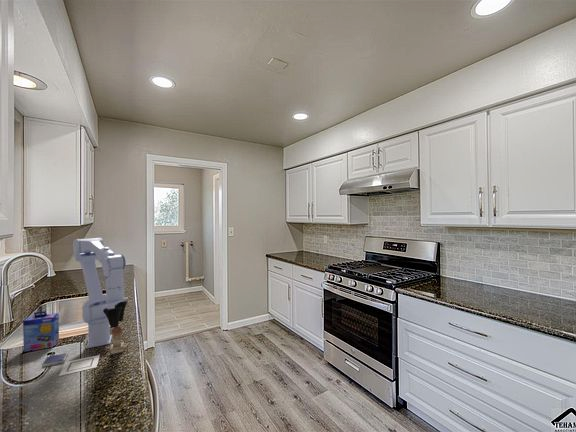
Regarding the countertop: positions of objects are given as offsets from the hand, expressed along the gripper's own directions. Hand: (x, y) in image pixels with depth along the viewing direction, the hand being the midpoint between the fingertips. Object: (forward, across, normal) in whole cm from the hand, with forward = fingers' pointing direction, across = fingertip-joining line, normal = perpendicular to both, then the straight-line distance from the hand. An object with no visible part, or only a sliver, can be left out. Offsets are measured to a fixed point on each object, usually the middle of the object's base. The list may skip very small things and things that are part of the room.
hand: (117, 324), depth 104 cm
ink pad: (+10, +3, +20) cm, 23 cm away
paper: (+11, -4, +11) cm, 16 cm away
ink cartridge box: (+8, +20, +31) cm, 37 cm away
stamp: (+11, +3, +1) cm, 11 cm away
